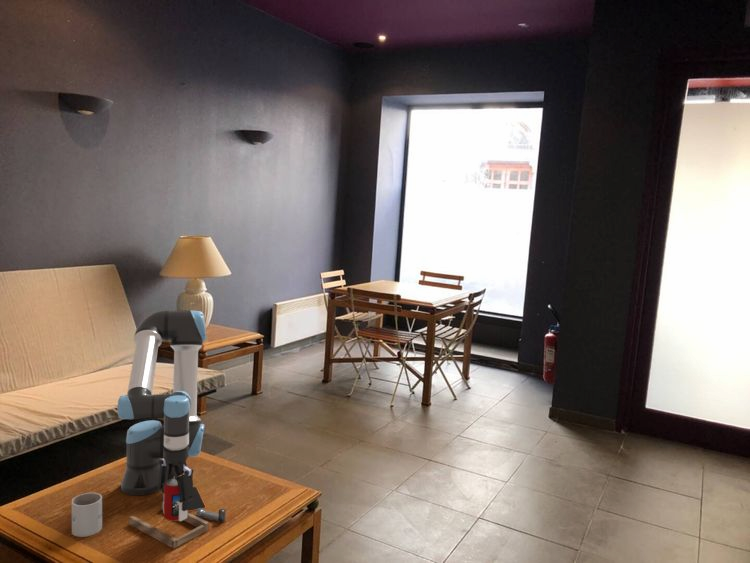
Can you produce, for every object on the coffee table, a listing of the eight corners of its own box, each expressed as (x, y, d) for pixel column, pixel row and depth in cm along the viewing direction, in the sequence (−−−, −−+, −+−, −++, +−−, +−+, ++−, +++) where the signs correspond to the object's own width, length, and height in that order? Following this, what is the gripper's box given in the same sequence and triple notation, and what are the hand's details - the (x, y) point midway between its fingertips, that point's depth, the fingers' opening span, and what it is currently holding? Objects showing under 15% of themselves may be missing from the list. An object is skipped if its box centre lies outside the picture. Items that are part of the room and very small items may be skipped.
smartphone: (184, 514, 197) (184, 511, 197) (175, 492, 211) (175, 489, 211) (206, 509, 201) (206, 507, 201) (196, 488, 215) (196, 486, 215)
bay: (129, 524, 188) (129, 517, 188) (164, 508, 199) (164, 501, 199) (173, 548, 176) (174, 540, 176) (208, 529, 187) (208, 522, 187)
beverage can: (179, 524, 181) (179, 487, 180) (159, 520, 183) (159, 484, 181) (190, 513, 188) (190, 477, 187) (171, 510, 189) (171, 475, 188)
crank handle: (194, 516, 195) (194, 506, 195) (199, 512, 198) (199, 502, 197) (222, 523, 192) (222, 512, 191) (227, 519, 194) (227, 509, 194)
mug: (97, 536, 181) (97, 505, 180) (67, 537, 179) (67, 506, 178) (108, 515, 193) (108, 486, 192) (80, 516, 191) (80, 487, 190)
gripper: (146, 441, 185) (145, 510, 188) (187, 458, 174) (186, 530, 177) (166, 434, 191) (165, 501, 194) (207, 450, 181) (205, 520, 183)
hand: (175, 515), depth 185 cm, fingers closed on beverage can, 7 cm apart
